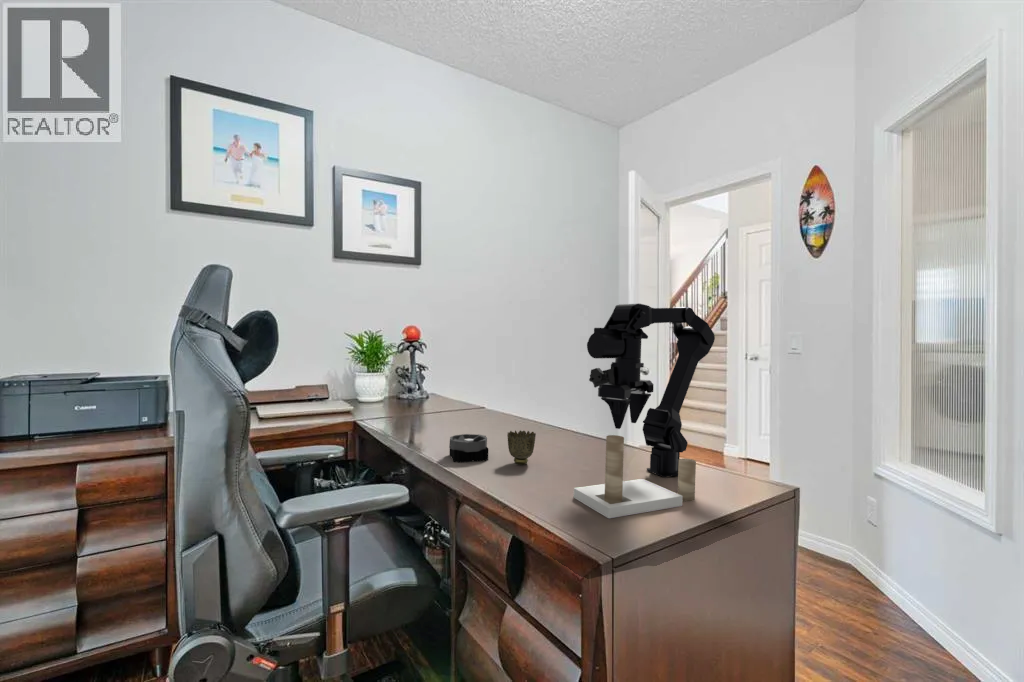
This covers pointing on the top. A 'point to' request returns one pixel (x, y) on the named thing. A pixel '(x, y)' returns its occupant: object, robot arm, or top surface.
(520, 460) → the cup
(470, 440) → the cpu cooler
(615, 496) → the long pin
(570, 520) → the top surface
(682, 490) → the short pin
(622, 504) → the hole plate
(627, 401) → the robot arm
